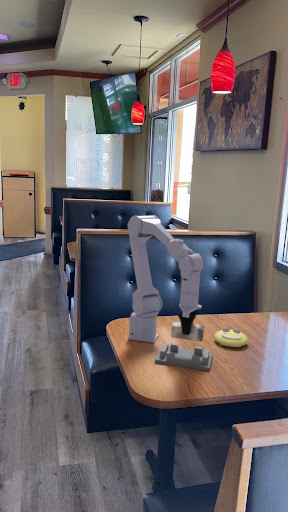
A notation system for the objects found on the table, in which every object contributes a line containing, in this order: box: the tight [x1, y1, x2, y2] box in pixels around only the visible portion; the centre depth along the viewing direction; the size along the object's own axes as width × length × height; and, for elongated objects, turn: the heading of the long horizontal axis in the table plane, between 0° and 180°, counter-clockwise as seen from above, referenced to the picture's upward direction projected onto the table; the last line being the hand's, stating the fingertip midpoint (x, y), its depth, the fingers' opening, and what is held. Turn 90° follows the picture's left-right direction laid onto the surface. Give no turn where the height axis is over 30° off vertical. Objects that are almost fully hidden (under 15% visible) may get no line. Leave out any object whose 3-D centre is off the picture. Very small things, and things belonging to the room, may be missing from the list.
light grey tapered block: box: [170, 321, 205, 342], centre depth 136 cm, size 10×4×4 cm, turn 77°
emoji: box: [213, 328, 249, 348], centre depth 152 cm, size 4×12×12 cm
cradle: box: [154, 342, 213, 372], centre depth 136 cm, size 17×12×3 cm
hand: (186, 331), depth 136 cm, fingers closed on light grey tapered block, 4 cm apart
